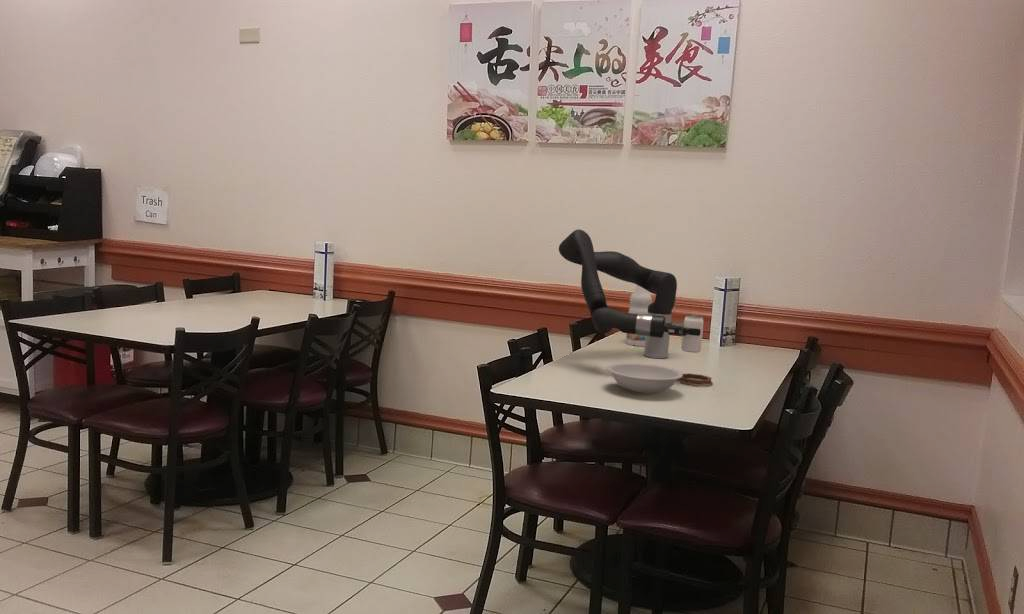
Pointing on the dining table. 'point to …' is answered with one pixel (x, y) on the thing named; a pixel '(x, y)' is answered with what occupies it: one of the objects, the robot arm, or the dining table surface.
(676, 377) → the soup bowl
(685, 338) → the can
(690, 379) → the octagonal wooden coaster
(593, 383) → the dining table surface
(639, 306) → the fruit juice
